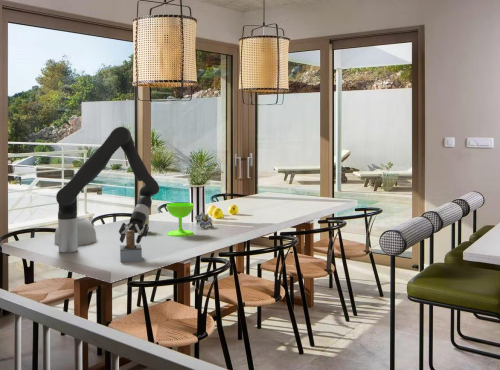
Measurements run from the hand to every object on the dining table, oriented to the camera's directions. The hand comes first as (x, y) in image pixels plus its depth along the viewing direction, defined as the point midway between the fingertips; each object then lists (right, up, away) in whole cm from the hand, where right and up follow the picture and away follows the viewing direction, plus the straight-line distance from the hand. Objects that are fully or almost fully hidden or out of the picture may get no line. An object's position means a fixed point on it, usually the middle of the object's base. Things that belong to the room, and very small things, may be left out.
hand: (129, 242), depth 275 cm
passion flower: (+29, 0, +88) cm, 92 cm away
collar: (0, -9, +2) cm, 9 cm away
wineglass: (+17, -2, +66) cm, 68 cm away
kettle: (-40, -4, +47) cm, 62 cm away
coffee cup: (-8, -1, +73) cm, 73 cm away
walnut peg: (0, -9, +2) cm, 9 cm away
